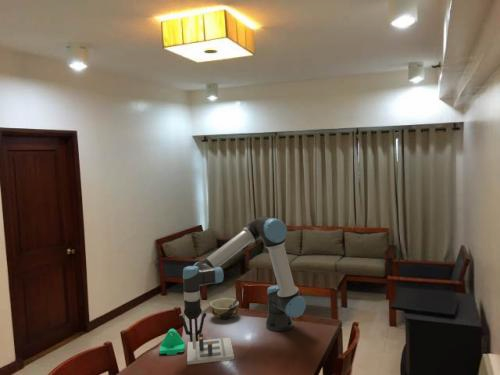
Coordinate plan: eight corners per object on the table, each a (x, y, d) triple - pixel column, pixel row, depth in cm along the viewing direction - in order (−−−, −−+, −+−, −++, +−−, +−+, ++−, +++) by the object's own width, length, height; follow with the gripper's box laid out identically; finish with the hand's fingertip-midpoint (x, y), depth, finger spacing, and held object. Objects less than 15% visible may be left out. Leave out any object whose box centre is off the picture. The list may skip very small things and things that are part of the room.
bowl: (207, 323, 248) (206, 307, 248) (214, 312, 266) (213, 297, 265) (236, 323, 245) (235, 307, 245) (242, 312, 263) (241, 297, 262)
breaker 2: (212, 352, 204) (211, 341, 204) (212, 354, 201) (211, 344, 201) (208, 352, 204) (207, 342, 203) (208, 355, 201) (207, 344, 201)
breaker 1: (203, 347, 210) (202, 336, 210) (203, 349, 208) (203, 339, 207) (199, 347, 210) (198, 337, 210) (199, 349, 207) (199, 339, 207)
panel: (230, 340, 222) (229, 337, 222) (234, 359, 200) (233, 355, 200) (187, 345, 219) (187, 341, 219) (187, 364, 197) (187, 360, 197)
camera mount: (159, 356, 208) (158, 335, 208) (161, 349, 216) (160, 329, 215) (184, 353, 209) (182, 333, 209) (185, 347, 217) (183, 327, 216)
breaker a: (203, 341, 217) (202, 331, 217) (203, 343, 215) (202, 333, 214) (199, 341, 217) (198, 331, 217) (199, 344, 214) (198, 333, 214)
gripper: (205, 295, 205) (207, 343, 206) (178, 298, 203) (180, 346, 204) (206, 300, 197) (208, 350, 198) (178, 302, 195) (180, 352, 197)
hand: (194, 348), depth 201 cm, fingers closed
